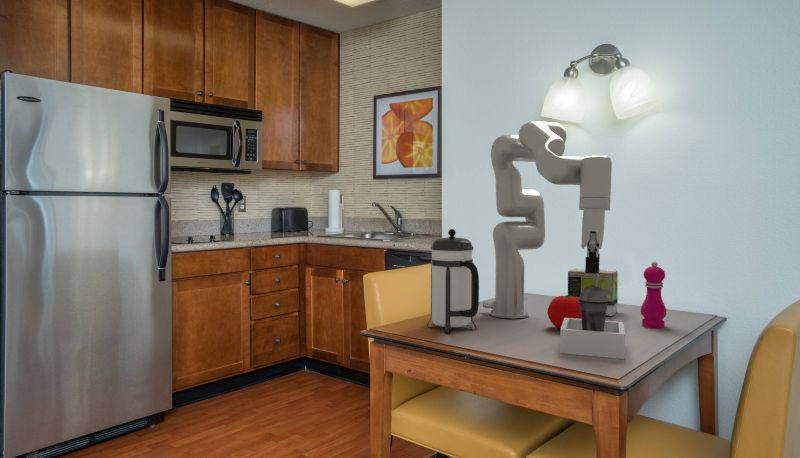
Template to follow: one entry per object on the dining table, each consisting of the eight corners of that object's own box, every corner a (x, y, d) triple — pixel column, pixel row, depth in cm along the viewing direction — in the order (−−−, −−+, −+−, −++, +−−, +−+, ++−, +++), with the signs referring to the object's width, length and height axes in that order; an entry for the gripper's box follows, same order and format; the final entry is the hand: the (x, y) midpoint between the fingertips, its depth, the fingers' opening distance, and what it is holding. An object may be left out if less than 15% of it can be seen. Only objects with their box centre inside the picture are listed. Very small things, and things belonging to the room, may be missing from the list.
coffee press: (419, 332, 158) (419, 229, 156) (434, 321, 173) (435, 227, 171) (477, 337, 152) (478, 230, 150) (488, 325, 167) (489, 228, 165)
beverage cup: (573, 342, 143) (574, 266, 142) (599, 341, 144) (601, 266, 143) (585, 349, 136) (586, 270, 135) (612, 348, 136) (614, 269, 136)
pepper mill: (669, 329, 162) (670, 262, 162) (643, 328, 164) (644, 262, 163) (662, 323, 170) (664, 260, 169) (637, 322, 171) (639, 259, 170)
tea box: (617, 312, 188) (618, 269, 188) (612, 317, 180) (613, 272, 179) (573, 307, 196) (574, 267, 195) (566, 312, 188) (567, 270, 187)
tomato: (540, 326, 165) (541, 292, 165) (573, 323, 170) (573, 290, 169) (564, 335, 155) (564, 298, 154) (598, 331, 159) (599, 296, 158)
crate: (560, 353, 136) (560, 329, 136) (564, 339, 150) (564, 317, 150) (624, 359, 131) (625, 334, 131) (622, 344, 145) (623, 322, 145)
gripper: (580, 203, 148) (578, 265, 149) (577, 204, 132) (575, 274, 133) (610, 204, 146) (607, 267, 147) (610, 205, 129) (608, 276, 131)
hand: (592, 270), depth 140 cm, fingers open, 9 cm apart
